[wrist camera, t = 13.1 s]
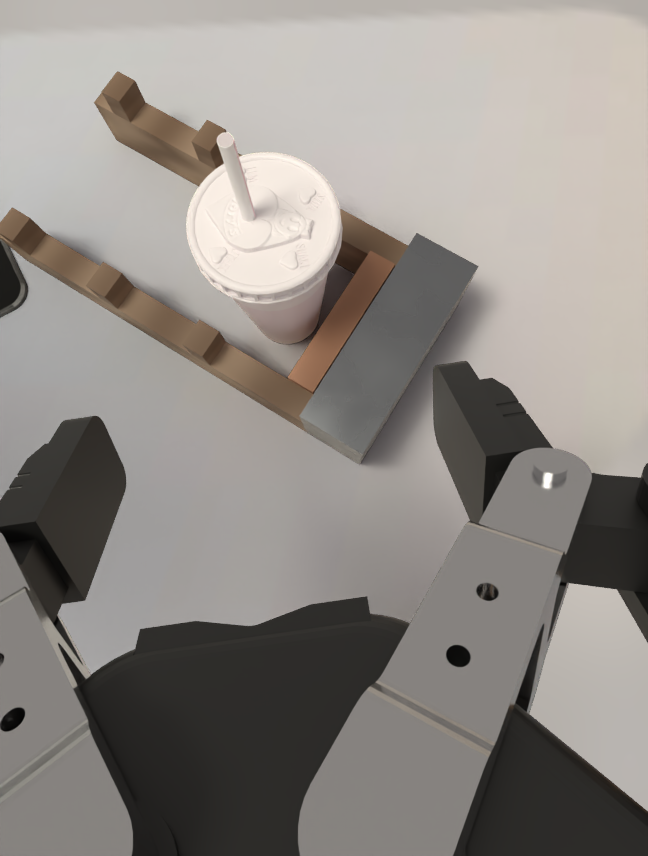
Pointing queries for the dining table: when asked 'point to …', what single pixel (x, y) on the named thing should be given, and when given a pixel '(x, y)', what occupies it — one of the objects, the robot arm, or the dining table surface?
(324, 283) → the smoothie
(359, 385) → the block
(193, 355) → the brown pegged rack
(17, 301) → the smartphone
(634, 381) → the dining table surface
